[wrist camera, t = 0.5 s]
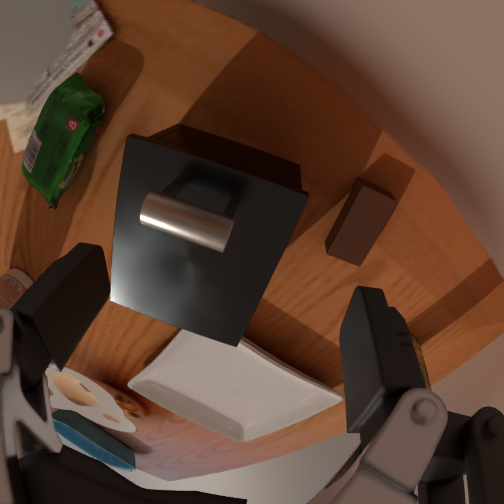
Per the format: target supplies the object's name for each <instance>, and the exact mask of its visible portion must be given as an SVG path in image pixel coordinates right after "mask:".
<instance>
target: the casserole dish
mask: <svg viewBox="0 0 504 504" xmlns="http://www.w3.org/2000/svg"><path fill="white" fill-rule="evenodd" d="M52 417H53V422H54V427H55V430H56V432H58V433H59V434H60V435H62V436H63V437H64V438H66V439H67V440H69V441H70V442H72V443H73V444H74V445H76V446H77V447H79V448H80V449H82V450H83V451H85V452H86V453H88V454H90V455H91V456H93V457H94V458H96V459H98V460H99V461H101V462H103V463H105V464H108V465H110V466H113V467H116V468H119V469H122V470H125V471H131V472H132V471H133V470H135V469H136V468H135V456H134V454H133V452H132V450H130V449H129V448H128V447H126V446H125V445H123V444H122V443H120V442H119V441H117V440H116V439H114V438H113V437H111V436H110V435H109V434H107V433H106V432H104V431H103V430H101V429H100V428H99V427H97V426H96V425H94V424H93V423H92V422H90V421H89V420H87V419H86V418H85V417H83V416H82V415H80V414H79V413H77V412H75V411H71V410H57V411H54V412H53V413H52Z"/></svg>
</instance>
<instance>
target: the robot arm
mask: <svg viewBox="0 0 504 504" xmlns="http://www.w3.org/2000/svg"><path fill="white" fill-rule="evenodd" d="M109 294H110V281H109V276H108V271H107V266H106V261H105V256H104V251H103V248H102V247H101V246H99V245H93V244H88V243H82V242H81V243H78V244H77V245H76V246H75V247H74V248H73V249H72V250H71V251H70V252H69V253H68V254H67V255H65V256H63V257H61V258H60V259H58V260H56V261H54V262H53V263H52V264H51V265H50V266H49V267H48V268H47V269H46V270H45V271H44V273H42V274H41V275H40V276H39V277H38V278H37V281H35V282H34V283H33V284H32V285H31V286H30V287H29V288H28V289H27V290H26V291H25V292H24V293H23V294H22V296H21V297H20V298H19V299H18V300H17V301H16V302H15V303H14V305H13V306H12V307H11V308H10V309H7V308H3V307H0V504H247V499H240V498H233V497H226V496H220V495H215V494H209V493H204V492H199V491H172V490H152V489H145V488H141V487H139V486H137V485H136V484H134V483H133V482H131V481H129V480H128V479H126V478H125V477H123V476H122V475H120V474H119V473H117V472H116V471H114V470H113V469H111V468H110V467H108V466H107V465H105V464H104V463H103V462H101V461H99V460H96V459H94V458H92V457H89V456H87V455H85V454H82V453H80V452H78V451H76V450H74V449H72V448H70V447H67V446H66V445H63V444H62V442H61V440H60V438H59V436H58V434H57V432H56V430H55V427H54V422H53V417H52V411H51V404H50V397H49V389H48V381H47V376H46V374H45V371H46V369H47V368H48V367H50V368H52V369H55V370H57V371H59V372H61V371H62V369H63V368H64V366H65V364H66V363H67V361H68V359H69V358H70V356H71V355H72V353H73V351H74V350H75V348H76V347H77V345H78V344H79V342H80V340H81V339H82V337H83V336H84V334H85V333H86V331H87V330H88V328H89V327H90V325H91V324H92V322H93V321H94V319H95V318H96V316H97V315H98V313H99V312H100V310H101V309H102V308H103V306H104V305H105V303H106V302H107V300H108V297H109ZM339 342H340V351H341V361H342V371H343V381H344V393H345V406H346V421H347V433H360V440H361V442H360V443H359V445H358V446H357V447H356V448H355V450H354V451H353V452H352V453H351V455H350V456H349V457H348V459H347V460H346V461H345V462H344V464H343V465H342V466H341V467H340V468H339V470H338V471H337V472H336V473H335V474H334V476H333V477H332V478H331V479H330V480H329V481H328V482H327V484H326V485H325V486H324V487H323V488H322V489H321V490H320V491H319V492H318V493H317V494H316V495H315V496H314V497H313V498H312V499H311V500H310V501H309V502H308V503H307V504H417V501H418V504H466V503H465V491H464V481H463V476H464V475H465V474H466V475H467V484H468V494H469V504H504V415H503V414H502V413H501V412H500V411H499V410H497V409H496V408H493V407H483V408H481V409H480V410H478V411H477V412H476V413H475V414H474V415H473V416H472V417H470V416H465V415H461V414H457V413H454V412H450V411H447V409H446V406H445V404H444V403H443V401H442V400H441V398H440V397H439V396H438V395H436V394H435V393H433V392H432V391H430V390H427V389H426V386H425V382H424V378H423V375H422V372H421V368H420V365H419V361H418V358H417V355H416V352H415V349H414V347H413V342H412V339H411V336H409V330H408V327H407V324H406V322H405V319H404V318H403V317H402V315H401V314H400V313H399V312H398V311H397V309H396V308H395V307H388V304H387V301H386V298H385V295H384V292H383V290H382V289H379V288H371V287H363V286H357V287H356V288H355V290H354V293H353V296H352V298H351V301H350V304H349V306H348V309H347V312H346V314H345V317H344V319H343V322H342V325H341V329H340V338H339ZM417 484H418V496H416V495H415V494H414V491H415V488H416V486H417Z"/></svg>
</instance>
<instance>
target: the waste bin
mask: <svg viewBox="0 0 504 504" xmlns="http://www.w3.org/2000/svg"><path fill="white" fill-rule="evenodd" d="M147 138H151V139H154V140H158V141H161V142H164V143H168V144H171V145H175V146H178V147H181V148H184V149H188V150H191V151H194V152H197V153H200V154H203V155H206V156H210V157H213V158H216V159H219V160H222V161H225V162H228V163H230V164H233V165H236V166H239V167H242V168H245V169H248V170H251V171H253V172H256V173H259V174H262V175H264V176H267V177H270V178H272V179H275V180H278V181H280V182H283V183H286V184H288V185H291V186H294V187H296V188H299V189H301V190H302V184H301V173H300V165H298V164H296V163H293V162H291V161H288V160H285V159H283V158H280V157H277V156H275V155H272V154H269V153H267V152H264V151H261V150H258V149H255V148H253V147H250V146H247V145H244V144H241V143H238V142H235V141H232V140H229V139H226V138H223V137H220V136H217V135H214V134H210V133H207V132H204V131H201V130H197V129H194V128H191V127H187V126H184V125H180V124H176V125H174V126H172V127H169V128H167V129H165V130H162V131H160V132H158V133H156V134H153V135H151V136H149V137H147Z"/></svg>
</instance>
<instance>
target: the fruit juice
mask: <svg viewBox="0 0 504 504" xmlns="http://www.w3.org/2000/svg"><path fill="white" fill-rule="evenodd" d="M33 283H34V282H33V281H32V279H31V278H30V277H29V276H28V275H27V274H26V273H24V272H23V271H21V270H20V269H17V268H12V269H10V270H8V271H7V272H6V273H5V274H4V275H3V276H2V277H1V278H0V307H3V308H7V309H10V308H11V307H12V306H13V305H14V303H15V302H16V301H17V300H18V299H19V298H20V297H21V296H22V294H23V293H24V292H25V291H26V290H27V289H28V288H29V287H30V286H31V285H32V284H33Z"/></svg>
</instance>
